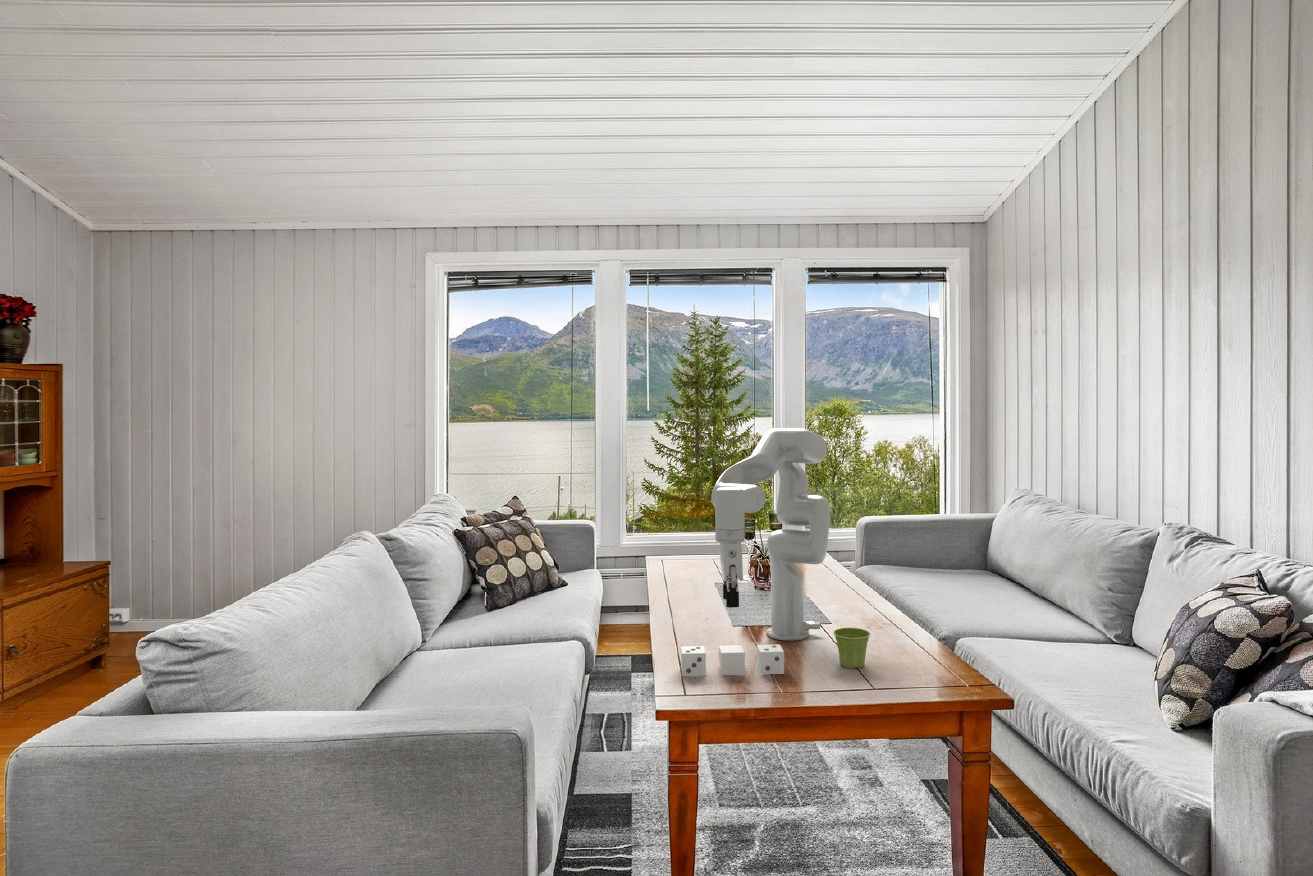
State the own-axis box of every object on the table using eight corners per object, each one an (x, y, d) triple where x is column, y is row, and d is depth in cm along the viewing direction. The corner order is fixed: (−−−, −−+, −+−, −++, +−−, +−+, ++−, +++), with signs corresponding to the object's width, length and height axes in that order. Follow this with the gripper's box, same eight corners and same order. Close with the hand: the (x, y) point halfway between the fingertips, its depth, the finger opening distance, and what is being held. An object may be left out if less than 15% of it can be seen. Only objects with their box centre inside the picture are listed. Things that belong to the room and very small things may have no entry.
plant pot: (864, 673, 199) (864, 639, 198) (828, 667, 204) (828, 634, 203) (875, 662, 206) (874, 630, 206) (840, 657, 211) (840, 625, 211)
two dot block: (780, 667, 205) (779, 644, 205) (784, 675, 199) (783, 651, 198) (757, 667, 205) (757, 644, 205) (760, 675, 199) (760, 651, 198)
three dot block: (704, 668, 205) (703, 645, 204) (705, 676, 199) (705, 653, 198) (681, 669, 205) (681, 646, 204) (682, 677, 198) (682, 653, 198)
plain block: (742, 667, 205) (741, 645, 204) (745, 675, 199) (744, 652, 198) (719, 668, 205) (719, 645, 204) (721, 676, 199) (721, 652, 198)
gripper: (748, 540, 192) (749, 611, 192) (740, 529, 209) (741, 594, 210) (718, 541, 192) (719, 612, 192) (712, 530, 209) (713, 595, 210)
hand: (730, 602), depth 201 cm, fingers open, 7 cm apart
